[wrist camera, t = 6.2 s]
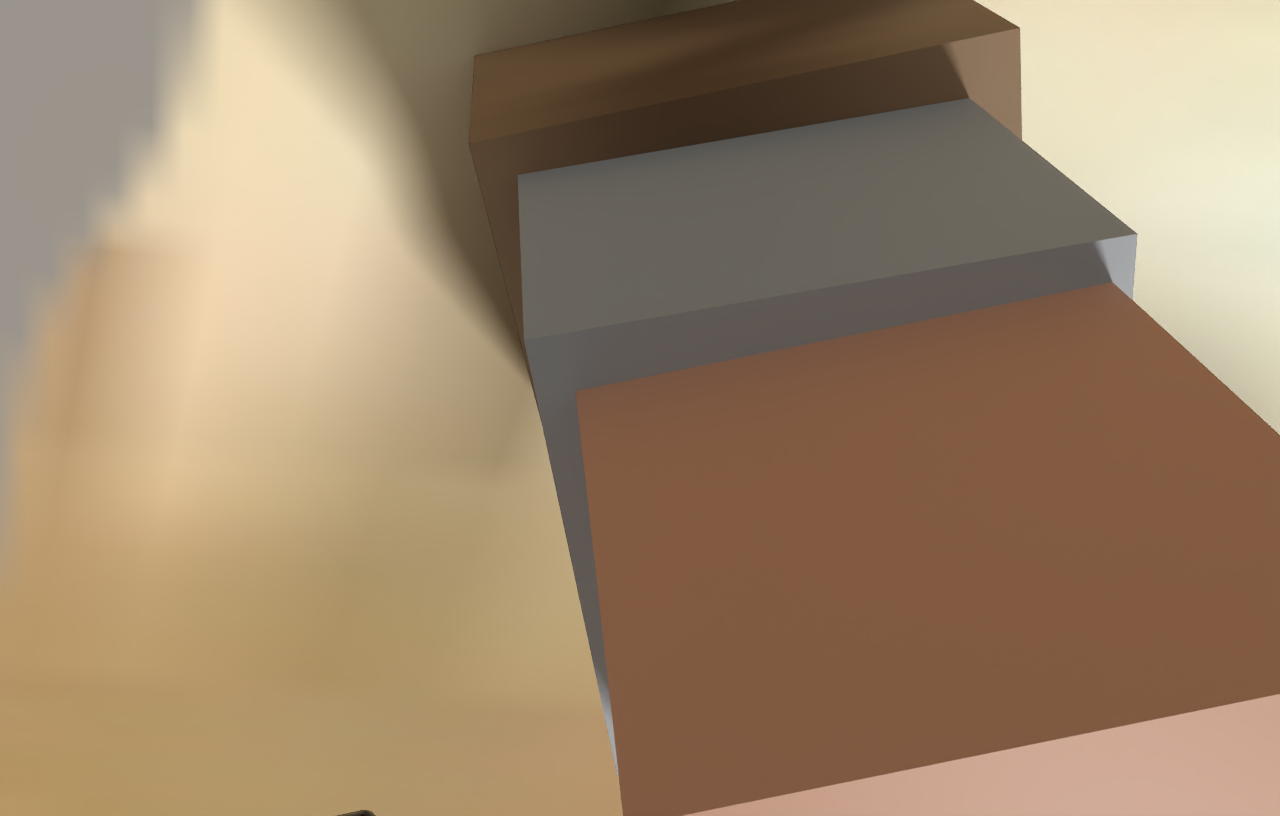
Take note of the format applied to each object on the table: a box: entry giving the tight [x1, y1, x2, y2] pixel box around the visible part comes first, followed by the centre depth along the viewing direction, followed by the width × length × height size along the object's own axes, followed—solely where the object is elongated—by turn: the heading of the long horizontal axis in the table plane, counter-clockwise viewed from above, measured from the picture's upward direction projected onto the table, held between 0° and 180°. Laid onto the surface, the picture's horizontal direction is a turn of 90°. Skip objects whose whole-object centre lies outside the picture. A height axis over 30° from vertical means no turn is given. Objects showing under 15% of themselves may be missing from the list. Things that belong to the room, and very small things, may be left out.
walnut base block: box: [469, 0, 1022, 422], centre depth 16 cm, size 6×6×4 cm
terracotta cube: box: [575, 282, 1280, 816], centre depth 9 cm, size 4×4×4 cm
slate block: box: [518, 98, 1137, 776], centre depth 13 cm, size 5×5×4 cm
